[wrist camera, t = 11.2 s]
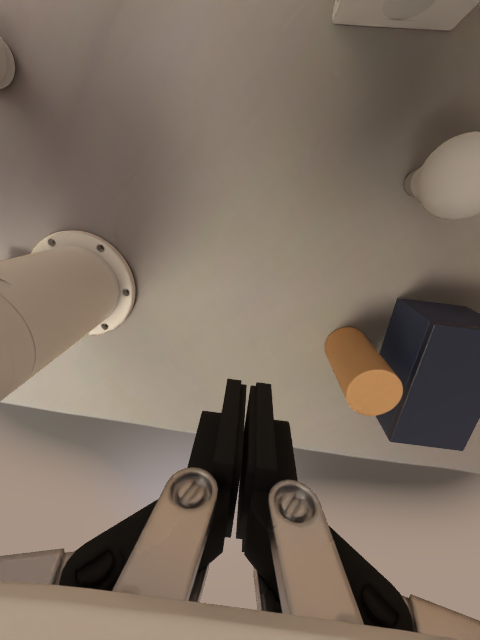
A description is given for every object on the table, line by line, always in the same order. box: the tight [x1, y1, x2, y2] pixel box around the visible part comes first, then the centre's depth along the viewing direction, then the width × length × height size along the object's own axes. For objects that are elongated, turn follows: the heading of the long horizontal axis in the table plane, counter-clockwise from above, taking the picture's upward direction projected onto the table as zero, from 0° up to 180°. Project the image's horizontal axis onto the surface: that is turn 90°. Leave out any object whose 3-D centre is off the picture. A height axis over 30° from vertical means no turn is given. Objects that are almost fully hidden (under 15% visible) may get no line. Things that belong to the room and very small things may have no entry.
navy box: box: [376, 298, 480, 451], centre depth 34 cm, size 8×14×8 cm, turn 174°
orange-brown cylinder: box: [325, 327, 403, 416], centre depth 33 cm, size 11×5×10 cm
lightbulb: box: [404, 132, 480, 220], centre depth 26 cm, size 6×6×11 cm
